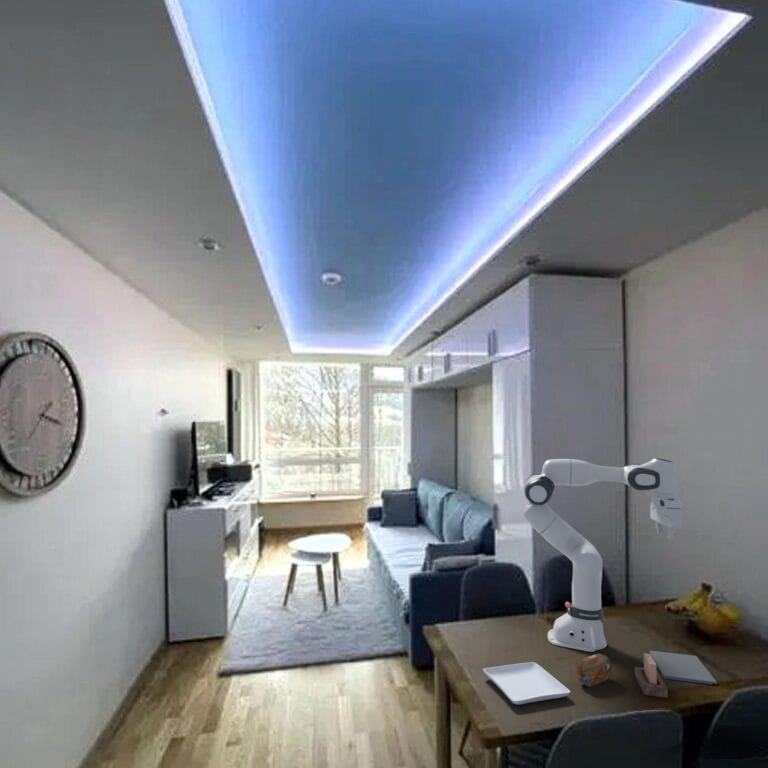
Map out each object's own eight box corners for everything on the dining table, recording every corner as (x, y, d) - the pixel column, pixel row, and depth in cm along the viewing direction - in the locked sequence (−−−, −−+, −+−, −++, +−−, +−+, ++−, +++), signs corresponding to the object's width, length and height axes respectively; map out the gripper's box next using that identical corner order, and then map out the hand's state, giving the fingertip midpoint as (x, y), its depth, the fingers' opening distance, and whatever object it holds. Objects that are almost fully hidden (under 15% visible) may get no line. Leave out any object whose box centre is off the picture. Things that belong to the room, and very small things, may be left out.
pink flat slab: (650, 692, 165) (649, 663, 166) (644, 680, 173) (643, 653, 173) (657, 693, 164) (656, 664, 165) (650, 681, 172) (650, 653, 173)
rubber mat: (664, 678, 174) (664, 675, 174) (649, 653, 193) (649, 650, 193) (716, 685, 170) (716, 682, 170) (696, 658, 189) (696, 655, 189)
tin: (583, 689, 166) (582, 663, 167) (575, 685, 169) (574, 659, 170) (612, 678, 174) (611, 653, 174) (604, 674, 176) (604, 650, 177)
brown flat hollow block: (643, 694, 163) (643, 685, 163) (634, 675, 176) (634, 666, 176) (667, 697, 161) (667, 688, 162) (656, 678, 174) (656, 669, 174)
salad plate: (572, 701, 159) (572, 690, 160) (513, 712, 153) (513, 700, 154) (534, 670, 180) (534, 660, 180) (481, 678, 174) (481, 668, 174)
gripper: (645, 496, 207) (646, 530, 206) (667, 503, 187) (668, 541, 186) (661, 496, 206) (662, 530, 205) (685, 504, 186) (686, 542, 185)
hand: (665, 536), depth 195 cm, fingers open, 8 cm apart
